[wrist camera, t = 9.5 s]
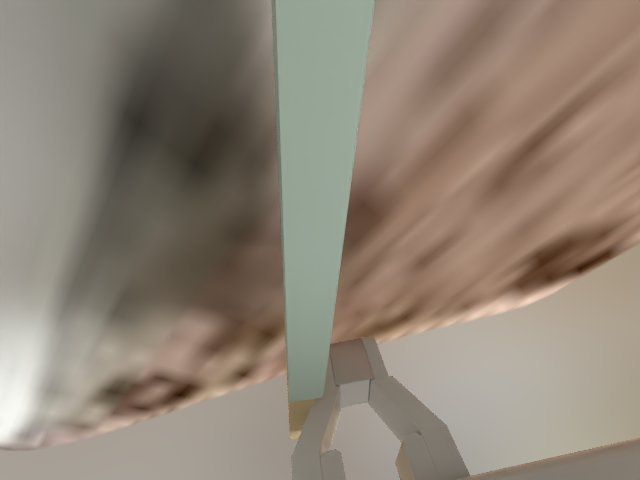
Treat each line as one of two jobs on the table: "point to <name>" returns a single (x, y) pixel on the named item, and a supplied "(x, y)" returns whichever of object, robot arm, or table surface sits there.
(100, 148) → the table surface
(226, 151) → the table surface
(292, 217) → the green yellow-tipped stick
